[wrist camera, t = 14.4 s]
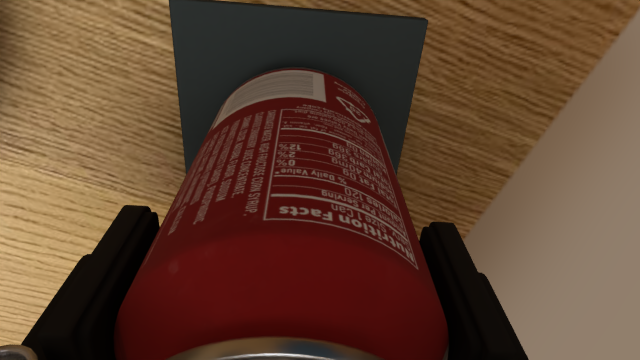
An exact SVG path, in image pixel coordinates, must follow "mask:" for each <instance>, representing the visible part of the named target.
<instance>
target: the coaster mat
mask: <svg viewBox="0 0 640 360" xmlns="http://www.w3.org/2000/svg"><path fill="white" fill-rule="evenodd" d="M169 7H170V17H171V27H172V37H173V47H174V57H175V67H176V77H177V87H178V97H179V107H180V117H181V127H182V137H183V147H184V157H185V167H186V175H187V173H188V171H189V169H190V167H191V165H192V163H193V161H194V159H195V157H196V155H197V153H198V151H199V149H200V147H201V145H202V143H203V141H204V139H205V137H206V136H207V134H208V132H209V130H210V128H211V126H212V124H213V122H214V120H215V118H216V116H217V114H218V112H219V110H220V108H221V106H222V105H223V103H224V102H225V100H226V99H227V98H228V97H229V95H230V94H231V93H232V92H233V91H234V90H235V89H236V88H238V87H239V86H240V85H241V84H243V83H244V82H246V81H247V80H249V79H250V78H252V77H254V76H256V75H259V74H261V73H264V72H267V71H270V70H274V69H279V68H288V67H303V68H311V69H315V70H320V71H323V72H326V73H329V74H331V75H333V76H336V77H338V78H339V79H341V80H343V81H345V82H346V83H348V84H349V85H350V86H352V87H353V88H354V89H355V90H356V91H357V92H359V94H360V95H361V96H362V97H363V98H364V99H365V100H366V102H367V103H368V104H369V106H370V108H371V109H372V111H373V113H374V115H375V117H376V119H377V122H378V125H379V128H380V131H381V134H382V137H383V139H384V142H385V145H386V148H387V151H388V154H389V157H390V160H391V162H392V165H393V168H394V171H395V174H396V175H397V170H398V165H399V160H400V155H401V151H402V146H403V141H404V136H405V131H406V126H407V122H408V117H409V112H410V107H411V102H412V97H413V92H414V88H415V83H416V78H417V73H418V68H419V63H420V59H421V54H422V49H423V44H424V39H425V34H426V29H427V25H428V20H427V19H425V18H419V17H407V16H395V15H383V14H371V13H359V12H347V11H335V10H323V9H311V8H299V7H287V6H275V5H263V4H251V3H239V2H227V1H215V0H169Z"/></svg>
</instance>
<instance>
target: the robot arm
mask: <svg viewBox="0 0 640 360" xmlns="http://www.w3.org/2000/svg"><path fill="white" fill-rule="evenodd" d="M159 229H160V227H159V220H158V215H157V213H156V212H151V209H150V208H149V207H148V206H134V205H125V206H124V207H123V208H122V209H121V211H120V212H119V214H118V215H117V217H116V218H115V220H114V221H113V223H112V224H111V226H110V227H109V228H108V230H107V231H106V233H105V234H104V236H103V237H102V239H101V240H100V242H99V243H98V245H97V246H96V248H95V249H94V251H93V252H92V254H87V255H85V256H83V257H82V258H81V259H80V260H79V262H78V263H77V265H76V266H75V268H74V269H73V270H72V272H71V273H70V275H69V276H68V278H67V279H66V280H65V282H64V283H63V285H62V286H61V288H60V289H59V291H58V292H57V293H56V295H55V296H54V298H53V299H52V301H51V302H50V303H49V305H48V306H47V308H46V309H45V311H44V312H43V314H42V315H41V316H40V318H39V319H38V321H37V322H36V324H35V325H34V326H33V328H32V329H31V331H30V332H29V334H28V335H27V336H26V338H25V339H24V341H23V342H22V344H21V345H11V344H10V345H4V346H0V360H116V358H115V353H114V339H113V336H114V328H115V322H116V319H117V315H118V312H119V309H120V307H121V305H122V302H123V300H124V298H125V296H126V294H127V292H128V290H129V288H130V286H131V284H132V282H133V280H134V278H135V276H136V274H137V272H138V270H139V268H140V266H141V264H142V262H143V260H144V258H145V256H146V254H147V252H148V250H149V248H150V246H151V244H152V242H153V241H154V239H155V237H156V235H157V233H158V231H159ZM419 243H420V246H421V249H422V251H423V254H424V257H425V260H426V263H427V266H428V269H429V272H430V274H431V277H432V280H433V283H434V286H435V289H436V292H437V295H438V297H439V300H440V303H441V306H442V309H443V312H444V315H445V318H446V322H447V327H448V333H449V353H448V359H447V360H528V357H527V355H526V354H525V352H524V350H523V348H522V346H521V344H520V342H519V340H518V338H517V336H516V334H515V332H514V330H513V328H512V326H511V324H510V322H509V320H508V318H507V316H506V314H505V312H504V310H503V308H502V306H501V304H500V302H499V300H498V298H497V296H496V294H495V292H494V290H493V289H492V286H491V285H490V282H489V281H488V279H487V277H486V276H485V275H484V274H482V273H478V271H477V269H476V267H475V265H474V263H473V261H472V259H471V257H470V255H469V253H468V251H467V249H466V247H465V244H464V242H463V240H462V238H461V236H460V234H459V232H458V230H457V228H456V226H455V225H454V223H448V222H431V223H430V225H429V227H423V229H422V232H421V236H420V240H419Z"/></svg>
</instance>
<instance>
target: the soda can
mask: <svg viewBox="0 0 640 360" xmlns="http://www.w3.org/2000/svg"><path fill="white" fill-rule="evenodd" d="M113 339H114V353H115V358H116V360H447V359H448V353H449V333H448V327H447V322H446V318H445V315H444V312H443V309H442V306H441V303H440V300H439V297H438V295H437V292H436V289H435V286H434V283H433V280H432V277H431V274H430V272H429V269H428V266H427V263H426V260H425V257H424V254H423V251H422V249H421V246H420V243H419V240H418V237H417V234H416V231H415V228H414V226H413V223H412V220H411V217H410V214H409V211H408V208H407V206H406V203H405V200H404V197H403V194H402V191H401V188H400V185H399V183H398V180H397V177H396V174H395V171H394V168H393V165H392V162H391V160H390V157H389V154H388V151H387V148H386V145H385V142H384V139H383V137H382V134H381V131H380V128H379V125H378V122H377V119H376V117H375V115H374V113H373V111H372V109H371V108H370V106H369V104H368V103H367V102H366V100H365V99H364V98H363V97H362V96H361V95H360V94H359V92H357V91H356V90H355V89H354V88H353V87H352V86H350V85H349V84H348V83H346V82H345V81H343V80H341V79H339V78H338V77H336V76H333V75H331V74H329V73H326V72H323V71H320V70H315V69H311V68H303V67H288V68H279V69H274V70H270V71H267V72H264V73H261V74H259V75H256V76H254V77H252V78H250V79H249V80H247V81H246V82H244V83H243V84H241V85H240V86H239V87H238V88H236V89H235V90H234V91H233V92H232V93H231V94H230V95H229V97H228V98H227V99H226V100H225V102H224V103H223V105H222V106H221V108H220V110H219V112H218V114H217V116H216V118H215V120H214V122H213V124H212V126H211V128H210V130H209V132H208V134H207V136H206V137H205V139H204V141H203V143H202V145H201V147H200V149H199V151H198V153H197V155H196V157H195V159H194V161H193V163H192V165H191V167H190V169H189V171H188V173H187V175H186V177H185V179H184V181H183V183H182V185H181V187H180V189H179V191H178V193H177V195H176V197H175V199H174V201H173V203H172V205H171V207H170V209H169V211H168V213H167V215H166V217H165V219H164V221H163V223H162V225H161V227H160V229H159V231H158V233H157V235H156V237H155V239H154V241H153V242H152V244H151V246H150V248H149V250H148V252H147V254H146V256H145V258H144V260H143V262H142V264H141V266H140V268H139V270H138V272H137V274H136V276H135V278H134V280H133V282H132V284H131V286H130V288H129V290H128V292H127V294H126V296H125V298H124V300H123V302H122V305H121V307H120V309H119V312H118V315H117V319H116V322H115V328H114V336H113Z"/></svg>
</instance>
